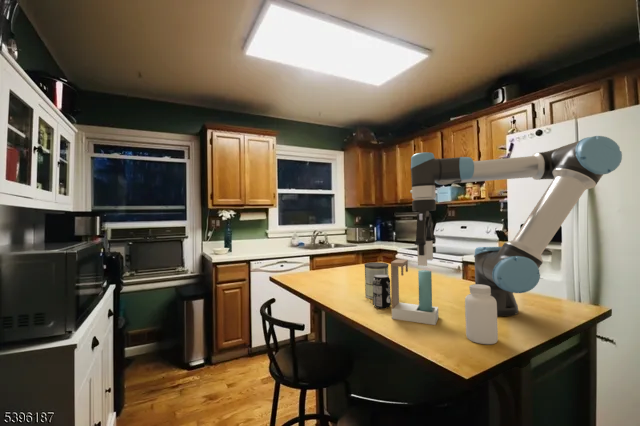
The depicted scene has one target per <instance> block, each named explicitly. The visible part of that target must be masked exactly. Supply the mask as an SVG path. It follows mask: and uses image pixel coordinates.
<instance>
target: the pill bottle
mask: <svg viewBox="0 0 640 426" xmlns="http://www.w3.org/2000/svg"><path fill="white" fill-rule="evenodd" d="M490 292H491V288H490V286H487V285H481V284H475V283H474V284H470V285H469V293H468V294H467V295H466V296H465V298H464V311H465V312H464V313H465V335H466V338H467V340H469V341H471V342H473V343H477V344H481V345H494V344H496V343H498V340H499V339H498V338H499V337H498V335H499V333H498V332H499V331H498V330H499V329H498V316H497V302H496V299H495V298H494V297H492V296H490V295H491V293H490Z"/></svg>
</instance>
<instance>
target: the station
mask: <svg viewBox="0 0 640 426" xmlns="http://www.w3.org/2000/svg"><path fill="white" fill-rule="evenodd" d="M408 263H409V260H408V259H402V258H401V259H399V258H398V259H395V260H393V261H391V262H390V296H391V319H392V320H398V321H405V322H411V323H412V322H413V323H420V324H426V325H432V326H433V325H434V326H436V324H437V322H438V319H439V306H433V305H432V312H425V311H419V304H415V303H409V302H408V303H407V302H406V303H405V302H400V286H399V285H400V284H399V283H400V281H399V275H400V276H402V277H403V276H404V267H405V273H408V271H409V270H408V269H409V265H408ZM399 267H400V273H401V274H400V273H399Z"/></svg>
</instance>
